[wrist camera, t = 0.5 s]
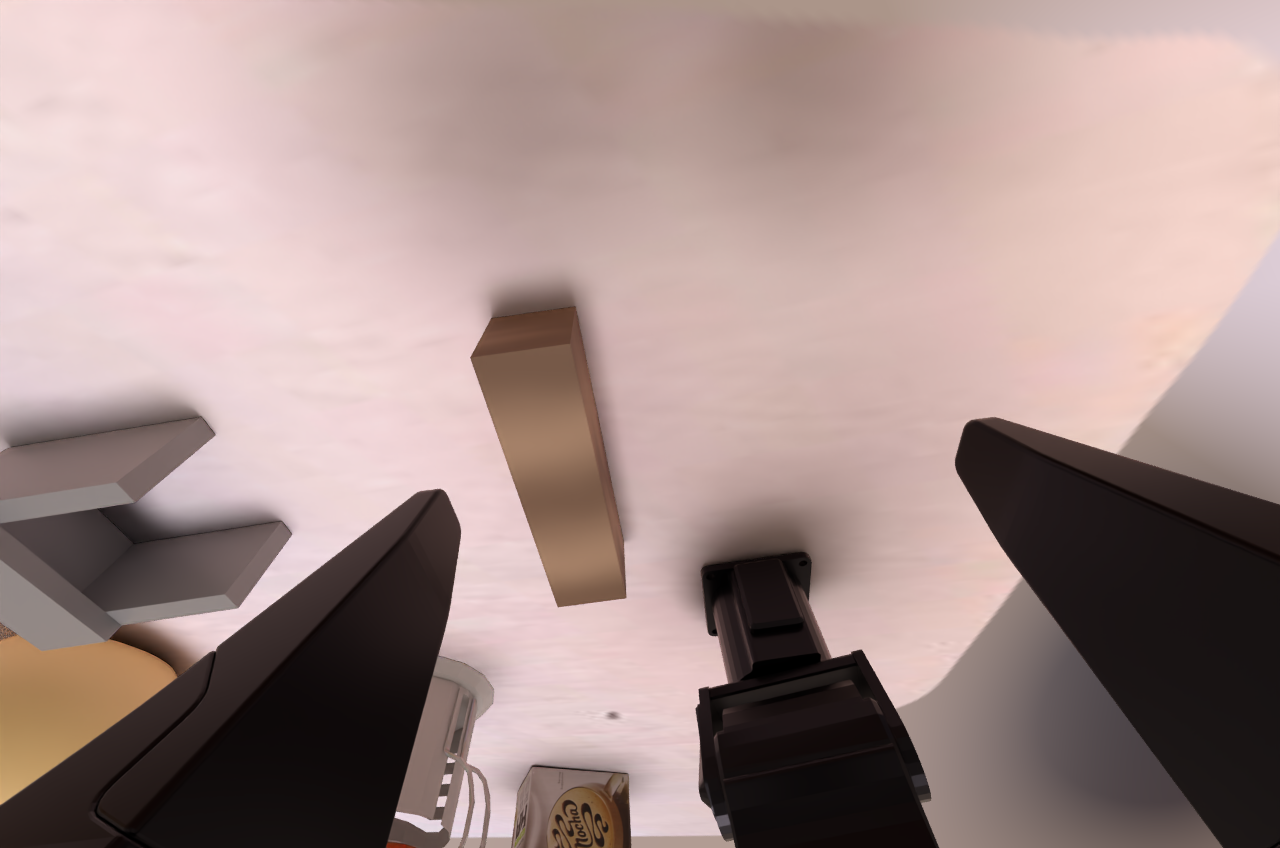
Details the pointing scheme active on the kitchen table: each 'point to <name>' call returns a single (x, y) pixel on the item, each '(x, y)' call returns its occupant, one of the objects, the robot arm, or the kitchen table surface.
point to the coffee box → (572, 810)
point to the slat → (554, 449)
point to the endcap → (111, 539)
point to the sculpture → (65, 701)
